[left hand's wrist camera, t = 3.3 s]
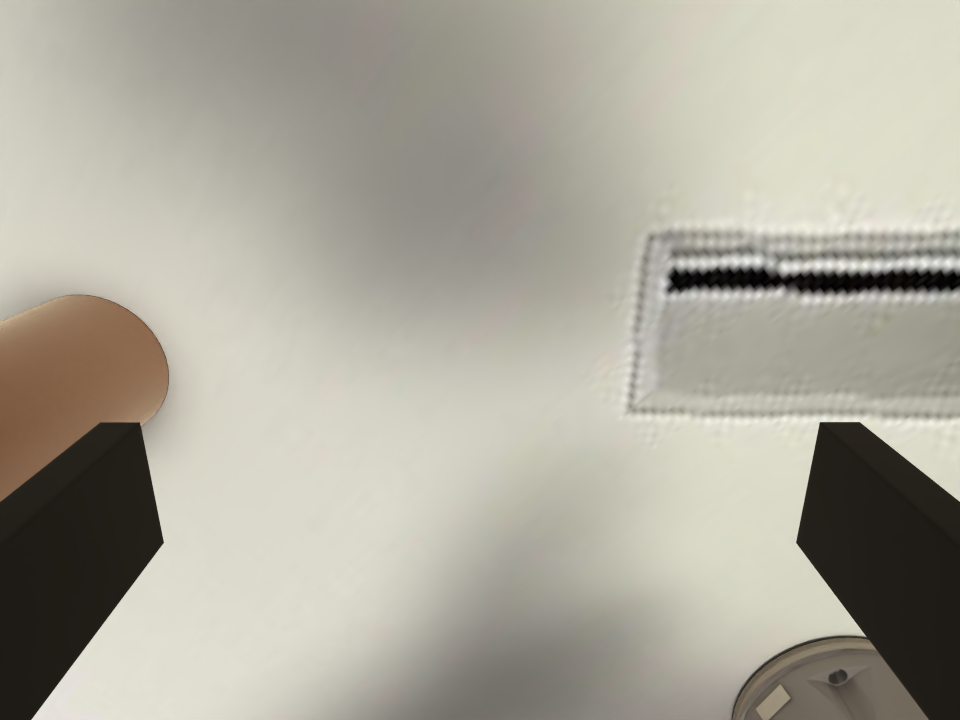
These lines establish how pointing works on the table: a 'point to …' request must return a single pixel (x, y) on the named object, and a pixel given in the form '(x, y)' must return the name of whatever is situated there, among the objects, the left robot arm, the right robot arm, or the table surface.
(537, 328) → the table surface
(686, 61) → the table surface
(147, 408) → the jar
